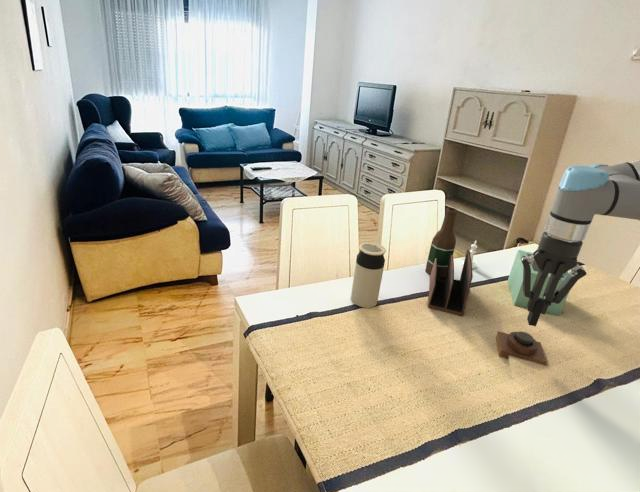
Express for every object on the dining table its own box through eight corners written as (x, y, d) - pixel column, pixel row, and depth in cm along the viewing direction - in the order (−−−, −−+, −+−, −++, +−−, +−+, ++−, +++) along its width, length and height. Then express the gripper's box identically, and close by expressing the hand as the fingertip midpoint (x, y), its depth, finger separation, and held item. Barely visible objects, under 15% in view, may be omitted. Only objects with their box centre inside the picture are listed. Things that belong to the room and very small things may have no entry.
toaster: (548, 289, 128) (560, 257, 123) (559, 316, 115) (574, 281, 110) (507, 280, 132) (518, 249, 127) (514, 305, 119) (526, 271, 114)
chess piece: (459, 264, 141) (466, 240, 137) (464, 260, 145) (471, 236, 141) (473, 269, 138) (480, 245, 134) (478, 265, 142) (485, 241, 138)
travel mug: (366, 312, 111) (375, 257, 104) (345, 299, 117) (352, 246, 110) (382, 302, 116) (392, 249, 109) (361, 290, 122) (369, 239, 114)
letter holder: (460, 284, 129) (471, 246, 123) (463, 317, 112) (475, 275, 106) (429, 276, 132) (438, 239, 126) (427, 307, 115) (437, 266, 109)
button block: (538, 348, 100) (542, 336, 99) (544, 369, 94) (549, 356, 92) (495, 337, 104) (499, 325, 102) (498, 356, 97) (503, 344, 95)
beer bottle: (426, 277, 132) (442, 212, 122) (423, 266, 139) (437, 203, 129) (450, 280, 131) (467, 214, 121) (445, 268, 138) (461, 206, 128)
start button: (529, 339, 98) (531, 333, 97) (532, 348, 95) (534, 342, 94) (513, 335, 99) (516, 329, 99) (516, 343, 96) (518, 338, 96)
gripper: (592, 235, 87) (558, 321, 96) (527, 224, 91) (500, 307, 100) (604, 248, 80) (566, 339, 89) (532, 236, 84) (503, 323, 94)
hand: (531, 322), depth 95 cm, fingers closed
